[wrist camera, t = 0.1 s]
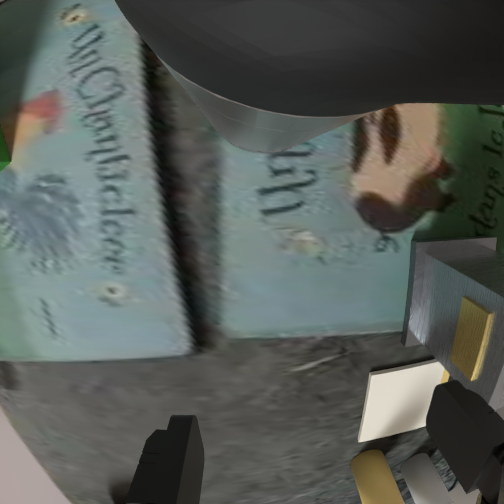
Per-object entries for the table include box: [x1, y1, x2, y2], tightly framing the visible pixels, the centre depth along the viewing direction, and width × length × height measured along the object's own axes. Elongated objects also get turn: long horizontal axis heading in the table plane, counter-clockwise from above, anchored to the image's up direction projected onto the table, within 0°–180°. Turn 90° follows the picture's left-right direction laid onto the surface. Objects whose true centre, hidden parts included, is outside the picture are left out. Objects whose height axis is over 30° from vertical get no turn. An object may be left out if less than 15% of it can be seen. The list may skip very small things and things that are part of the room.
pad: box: [358, 359, 450, 442], centre depth 30 cm, size 10×10×1 cm
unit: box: [401, 235, 504, 410], centre depth 20 cm, size 10×10×13 cm
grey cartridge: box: [400, 453, 454, 504], centre depth 28 cm, size 4×4×12 cm
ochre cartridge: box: [350, 449, 404, 504], centre depth 27 cm, size 4×4×12 cm
